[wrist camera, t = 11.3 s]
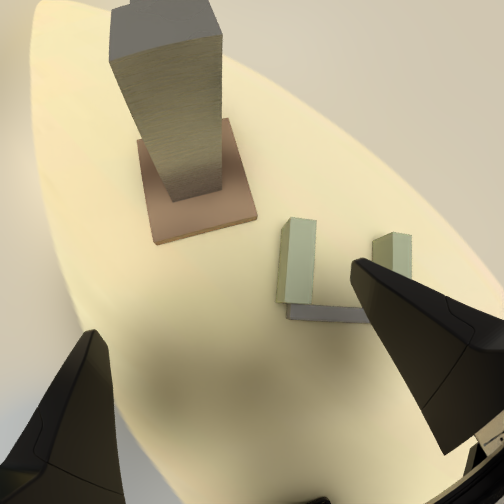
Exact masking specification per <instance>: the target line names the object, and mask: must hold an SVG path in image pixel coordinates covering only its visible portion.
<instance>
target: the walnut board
mask: <svg viewBox="0 0 504 504" xmlns="http://www.w3.org/2000/svg"><path fill="white" fill-rule="evenodd" d="M137 145H138V153H139V160H140V167H141V174H142V181H143V187H144V193H145V199H146V205H147V211H148V216H149V221H150V227H151V232H152V237H153V242H154V243H155V244H156V245H160V244H164V243H167V242H171V241H175V240H179V239H182V238H186V237H190V236H194V235H198V234H201V233H205V232H209V231H213V230H217V229H221V228H225V227H229V226H233V225H237V224H241V223H245V222H249V221H253V220H256V219H257V216H258V215H257V212H256V208H255V205H254V201H253V198H252V195H251V191H250V188H249V185H248V181H247V178H246V175H245V171H244V168H243V165H242V161H241V158H240V155H239V151H238V148H237V145H236V141H235V138H234V135H233V132H232V128H231V125H230V122H229V119H228V118H224V119H222V190H221V191H217V192H213V193H209V194H205V195H201V196H197V197H193V198H189V199H185V200H182V201H178V202H174V203H173V202H172V200H171V198H170V196H169V194H168V192H167V190H166V188H165V186H164V184H163V182H162V180H161V178H160V176H159V173H158V171H157V169H156V167H155V165H154V163H153V161H152V159H151V157H150V154H149V152H148V150H147V148H146V146H145V144H144V141H143V139H139V140H137Z"/></svg>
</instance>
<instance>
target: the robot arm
mask: <svg viewBox="0 0 504 504" xmlns="http://www.w3.org/2000/svg"><path fill="white" fill-rule="evenodd" d="M350 282H351V285H352V287H353V289H354V291H355V293H356V295H357V297H358V299H359V301H360V303H361V305H362V308H363V310H364V312H365V314H366V316H367V318H368V320H369V321H370V323H371V325H372V326H373V328H374V330H375V331H376V333H377V335H378V336H379V338H380V340H381V341H382V343H383V345H384V346H385V348H386V350H387V351H388V353H389V355H390V356H391V358H392V360H393V362H394V363H395V365H396V367H397V368H398V370H399V372H400V374H401V375H402V377H403V379H404V381H405V383H406V384H407V386H408V388H409V390H410V391H411V393H412V395H413V397H414V399H415V401H416V402H417V404H418V406H419V408H420V410H421V412H422V414H423V416H424V418H425V420H426V421H427V423H428V425H429V427H430V429H431V431H432V433H433V435H434V437H435V439H436V441H437V443H438V445H439V447H440V449H441V451H442V453H443V454H444V456H445V455H446V454H448V453H449V452H451V451H452V450H454V449H455V448H457V447H458V446H459V445H461V444H462V443H464V442H465V441H466V440H468V439H469V438H470V437H472V436H473V435H474V436H475V437H476V439H477V441H478V442H477V443H476V444H475V445H474V446H472V447H471V448H470V451H469V455H468V459H467V463H466V467H465V471H464V474H463V478H461V479H460V480H459V481H457V482H456V483H455V484H453V485H452V486H451V487H449V488H448V489H446V490H445V491H443V492H442V493H441V494H439V495H438V496H436V497H435V498H433V499H432V500H430V501H428V502H427V503H425V504H504V320H502V319H499V318H497V317H494V316H492V315H489V314H487V313H484V312H482V311H479V310H477V309H474V308H472V307H470V306H467V305H465V304H463V303H461V302H458V301H456V300H454V299H452V298H450V297H448V296H445V295H444V294H441V293H439V292H437V291H435V290H433V289H431V288H429V287H427V286H425V285H423V284H420V283H418V282H416V281H414V280H412V279H410V278H408V277H405V276H403V275H401V274H399V273H397V272H394V271H392V270H390V269H388V268H386V267H383V266H381V265H379V264H377V263H375V262H372V261H370V260H368V259H366V258H359V259H356V260H353V261H352V264H351V274H350ZM123 495H124V493H123V486H122V480H121V473H120V466H119V458H118V449H117V440H116V429H115V415H114V396H113V383H112V376H111V368H110V359H109V350H108V346H107V344H106V342H105V341H104V340H103V338H102V337H101V336H100V334H99V333H98V331H97V330H95V329H93V330H88V331H85V332H84V333H83V335H82V336H81V338H80V339H79V341H78V342H77V344H76V345H75V347H74V348H73V350H72V351H71V353H70V354H69V356H68V357H67V359H66V361H65V362H64V364H63V365H62V367H61V368H60V370H59V372H58V373H57V375H56V376H55V378H54V380H53V381H52V383H51V385H50V386H49V388H48V390H47V391H46V393H45V395H44V396H43V398H42V400H41V402H40V403H39V405H38V407H37V408H36V410H35V412H34V414H33V415H32V417H31V419H30V421H29V422H28V424H27V426H26V427H25V429H24V431H23V432H22V434H21V435H20V437H19V439H18V440H17V442H16V443H15V445H14V447H13V448H12V450H11V451H10V453H9V454H8V456H7V458H6V459H5V461H4V462H3V463H2V464H1V465H0V504H126V503H125V497H124V496H123ZM322 502H324V503H322ZM307 504H331V503H330V501H329V499H328V498H327V497H322V498H320V499H317V500H315V501H312V502H309V503H307Z"/></svg>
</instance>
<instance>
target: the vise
mask: <svg viewBox="0 0 504 504" xmlns="http://www.w3.org/2000/svg"><path fill="white" fill-rule="evenodd" d="M316 221H317V220H310V219H302V218H295V217H290V219H289V220H288V221H287V223H286V224H285V225H284V227H283V228H282V232H281V245H280V258H279V270H278V282H277V293H276V303H287V314H286V318H287V319H295V320H311V321H329V322H353V323H370V321H369V320H368V318H367V316H366V314H365V312H364V310H363V308H352V307H335V306H320V305H306V304H311V303H312V291H313V277H314V261H315V243H316ZM372 262H375V263H377V264H379V265H381V266H383V267H386V268H388V269H390V270H392V271H394V272H397V273H399V274H401V275H403V276H405V277H408V278H410V279H412V235H408V234H402V233H396V232H391V233H389V234H387V235H385V236H383V237H381V238H379V239H376V240H374V241H373V256H372Z"/></svg>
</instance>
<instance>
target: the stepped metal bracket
mask: <svg viewBox="0 0 504 504" xmlns="http://www.w3.org/2000/svg"><path fill="white" fill-rule="evenodd" d="M222 38H223V35H222V32H221V29H220V27H219V24H218V22H217V20H216V17H215V15H214V13H213V10H212V8H211V6H210V3H209V1H208V0H130V4H129V5H125V6H122V7H118V8H115V9H112V12H111V24H110V41H109V63H110V66H111V68H112V71H113V73H114V75H115V78H116V80H117V83H118V85H119V87H120V90H121V92H122V94H123V97H124V99H125V101H126V104H127V106H128V108H129V110H130V113H131V115H132V117H133V119H134V122H135V124H136V126H137V128H138V131H139V133H140V135H141V137H142V139H143V141H144V144H145V146H146V148H147V150H148V152H149V154H150V157H151V159H152V161H153V163H154V165H155V167H156V169H157V171H158V173H159V176H160V178H161V180H162V182H163V184H164V186H165V188H166V190H167V192H168V194H169V196H170V198H171V200H172V202H173V203H174V202H178V201H182V200H185V199H189V198H193V197H197V196H201V195H205V194H209V193H213V192H217V191H221V190H222Z"/></svg>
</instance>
